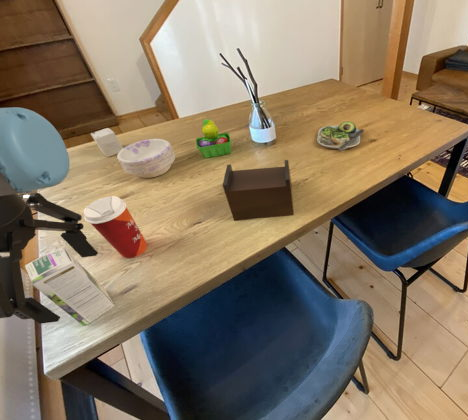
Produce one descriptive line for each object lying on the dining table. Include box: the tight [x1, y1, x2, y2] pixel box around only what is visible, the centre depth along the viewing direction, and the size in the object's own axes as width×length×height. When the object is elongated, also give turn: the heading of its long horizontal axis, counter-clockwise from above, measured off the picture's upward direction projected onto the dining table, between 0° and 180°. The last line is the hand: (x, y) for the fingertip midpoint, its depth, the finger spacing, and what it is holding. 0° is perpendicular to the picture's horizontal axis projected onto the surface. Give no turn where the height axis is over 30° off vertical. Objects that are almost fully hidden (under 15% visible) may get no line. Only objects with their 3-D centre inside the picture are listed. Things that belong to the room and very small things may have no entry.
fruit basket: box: [195, 118, 232, 159], centre depth 96 cm, size 11×9×11 cm
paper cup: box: [83, 195, 148, 259], centre depth 62 cm, size 8×8×14 cm
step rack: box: [222, 159, 295, 222], centre depth 76 cm, size 15×16×12 cm
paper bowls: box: [116, 138, 176, 179], centre depth 89 cm, size 15×15×8 cm
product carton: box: [90, 127, 124, 158], centre depth 98 cm, size 6×6×7 cm
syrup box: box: [24, 246, 116, 327], centre depth 51 cm, size 6×6×14 cm
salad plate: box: [316, 121, 365, 152], centre depth 104 cm, size 19×18×5 cm
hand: (72, 284), depth 50 cm, fingers open, 13 cm apart
